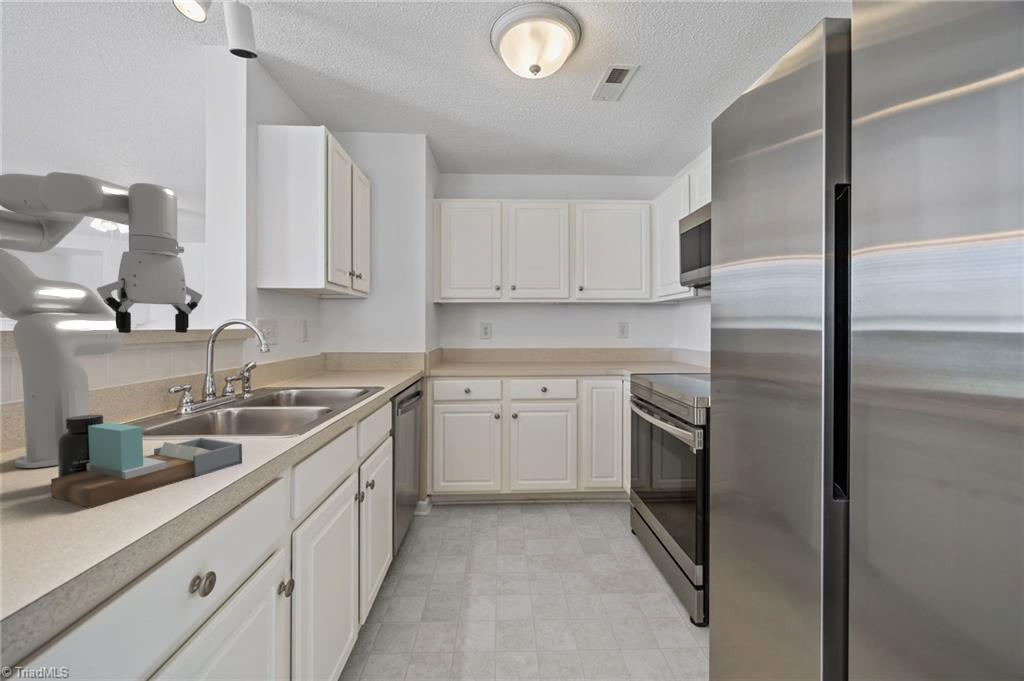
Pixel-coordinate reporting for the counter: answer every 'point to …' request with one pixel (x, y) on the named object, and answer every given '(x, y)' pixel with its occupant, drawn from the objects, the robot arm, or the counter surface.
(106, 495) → the board
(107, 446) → the teal cube on plate
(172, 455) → the tile
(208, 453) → the tray
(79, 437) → the supplement bottle
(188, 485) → the counter surface
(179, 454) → the tile
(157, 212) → the robot arm
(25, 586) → the counter surface
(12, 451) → the counter surface
